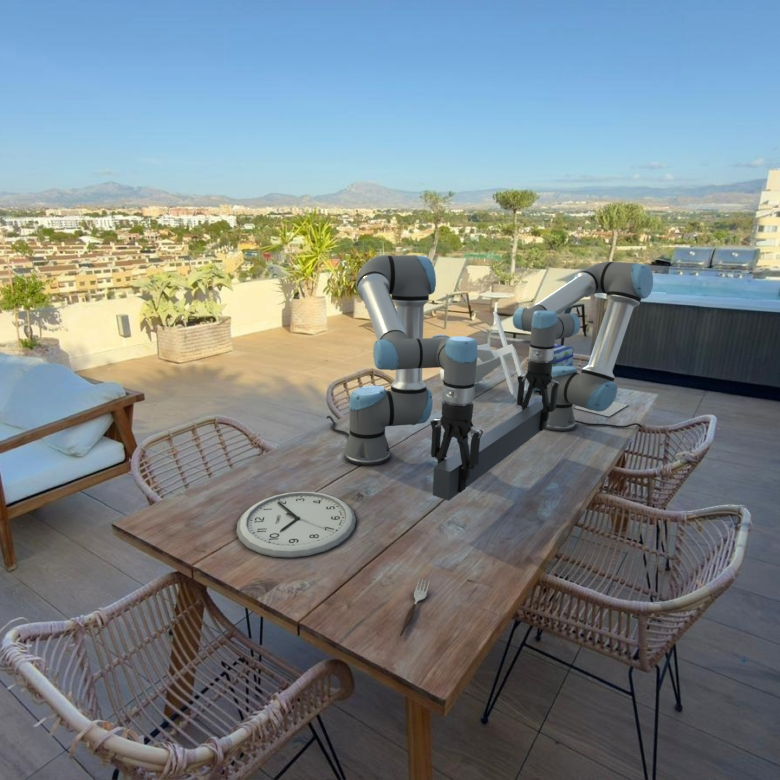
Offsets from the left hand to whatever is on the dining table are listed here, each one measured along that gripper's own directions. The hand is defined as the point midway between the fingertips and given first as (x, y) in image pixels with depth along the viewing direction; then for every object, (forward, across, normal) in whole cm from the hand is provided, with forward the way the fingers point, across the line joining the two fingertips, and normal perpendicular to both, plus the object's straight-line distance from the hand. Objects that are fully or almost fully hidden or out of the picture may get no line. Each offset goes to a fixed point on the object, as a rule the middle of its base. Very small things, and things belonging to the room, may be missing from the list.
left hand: (452, 486), depth 134 cm
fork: (+9, +11, -34) cm, 37 cm away
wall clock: (+10, -30, -25) cm, 41 cm away
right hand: (0, +1, +52) cm, 52 cm away
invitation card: (+11, +7, +120) cm, 121 cm away
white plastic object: (+11, -44, +105) cm, 115 cm away
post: (+1, +1, +26) cm, 26 cm away
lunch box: (+11, -20, +131) cm, 133 cm away
